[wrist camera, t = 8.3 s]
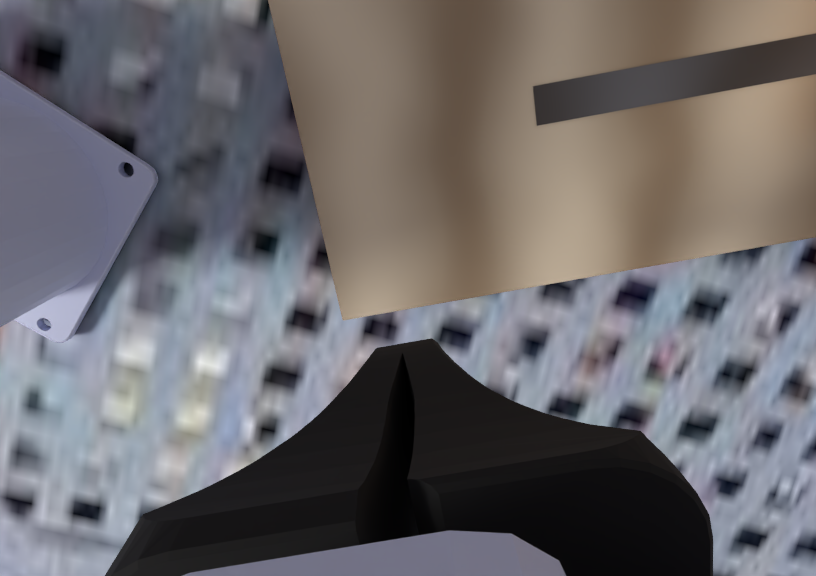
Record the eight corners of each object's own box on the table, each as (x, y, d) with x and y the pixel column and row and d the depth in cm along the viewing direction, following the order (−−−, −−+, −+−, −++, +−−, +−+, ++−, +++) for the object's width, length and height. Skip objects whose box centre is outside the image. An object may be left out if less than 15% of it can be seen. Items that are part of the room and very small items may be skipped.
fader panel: (347, 301, 21) (342, 320, 19) (268, -46, 17) (252, -65, 15) (916, 200, 20) (971, 210, 18) (965, -183, 16) (1042, -222, 15)
